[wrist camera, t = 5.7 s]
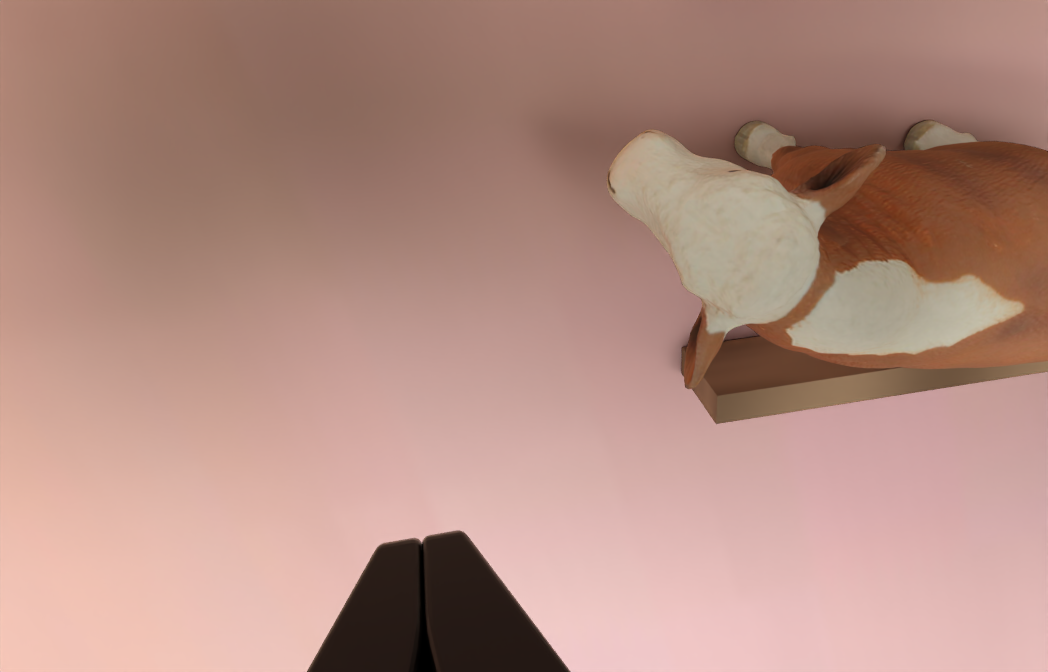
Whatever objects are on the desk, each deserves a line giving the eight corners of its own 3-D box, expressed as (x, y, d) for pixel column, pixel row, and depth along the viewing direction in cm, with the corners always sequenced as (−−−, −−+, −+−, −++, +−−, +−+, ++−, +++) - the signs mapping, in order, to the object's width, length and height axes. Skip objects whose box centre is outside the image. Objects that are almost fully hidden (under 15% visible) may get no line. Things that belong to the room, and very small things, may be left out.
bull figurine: (554, 47, 16) (680, 124, 9) (1068, 128, 19) (1472, 236, 12) (522, 239, 18) (607, 426, 11) (996, 287, 21) (1307, 462, 14)
